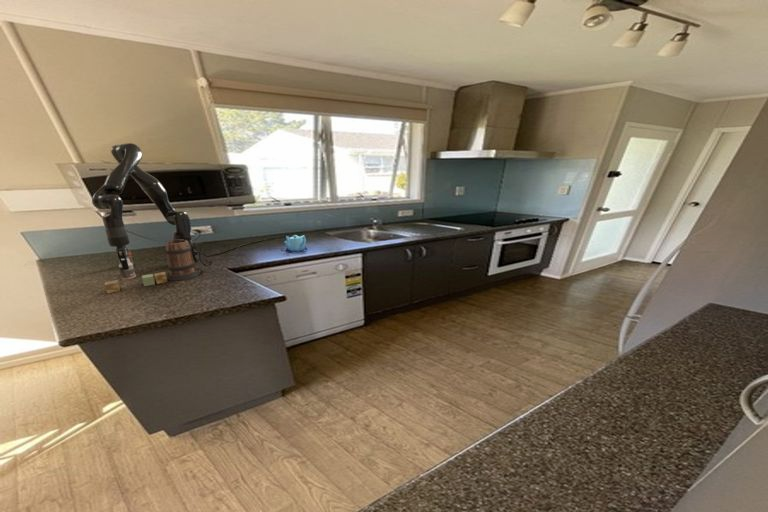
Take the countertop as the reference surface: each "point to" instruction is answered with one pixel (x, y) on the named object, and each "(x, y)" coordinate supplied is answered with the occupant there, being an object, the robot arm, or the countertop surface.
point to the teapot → (295, 243)
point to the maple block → (160, 277)
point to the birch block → (112, 286)
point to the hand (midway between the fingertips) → (126, 267)
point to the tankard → (182, 260)
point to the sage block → (148, 280)
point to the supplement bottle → (130, 257)
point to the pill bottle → (127, 271)
